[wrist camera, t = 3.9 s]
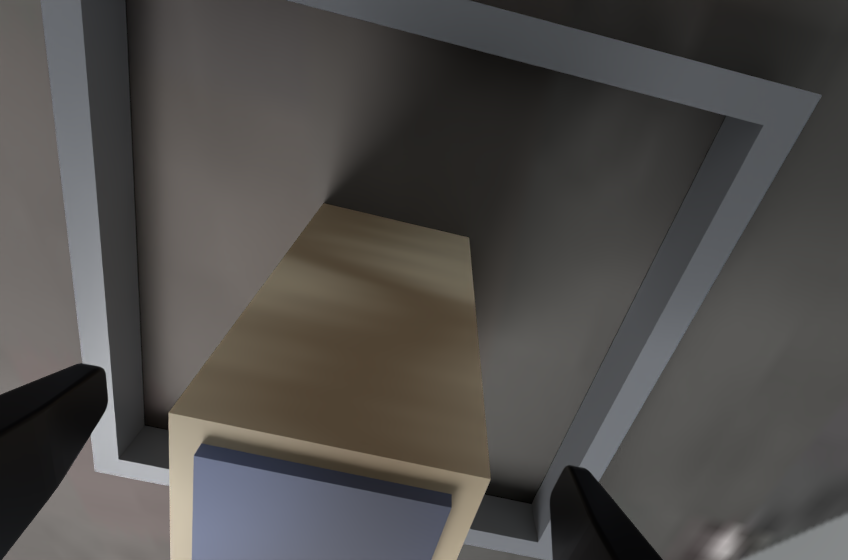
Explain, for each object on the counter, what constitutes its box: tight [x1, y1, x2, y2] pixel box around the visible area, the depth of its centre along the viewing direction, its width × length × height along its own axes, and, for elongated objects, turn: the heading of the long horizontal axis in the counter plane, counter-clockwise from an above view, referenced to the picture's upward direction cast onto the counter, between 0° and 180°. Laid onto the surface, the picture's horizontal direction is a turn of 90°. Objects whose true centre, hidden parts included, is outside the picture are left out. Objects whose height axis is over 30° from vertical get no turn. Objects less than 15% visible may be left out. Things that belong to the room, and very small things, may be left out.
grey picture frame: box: [41, 0, 822, 560], centre depth 13 cm, size 16×16×2 cm
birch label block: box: [169, 203, 491, 560], centre depth 11 cm, size 4×5×8 cm
